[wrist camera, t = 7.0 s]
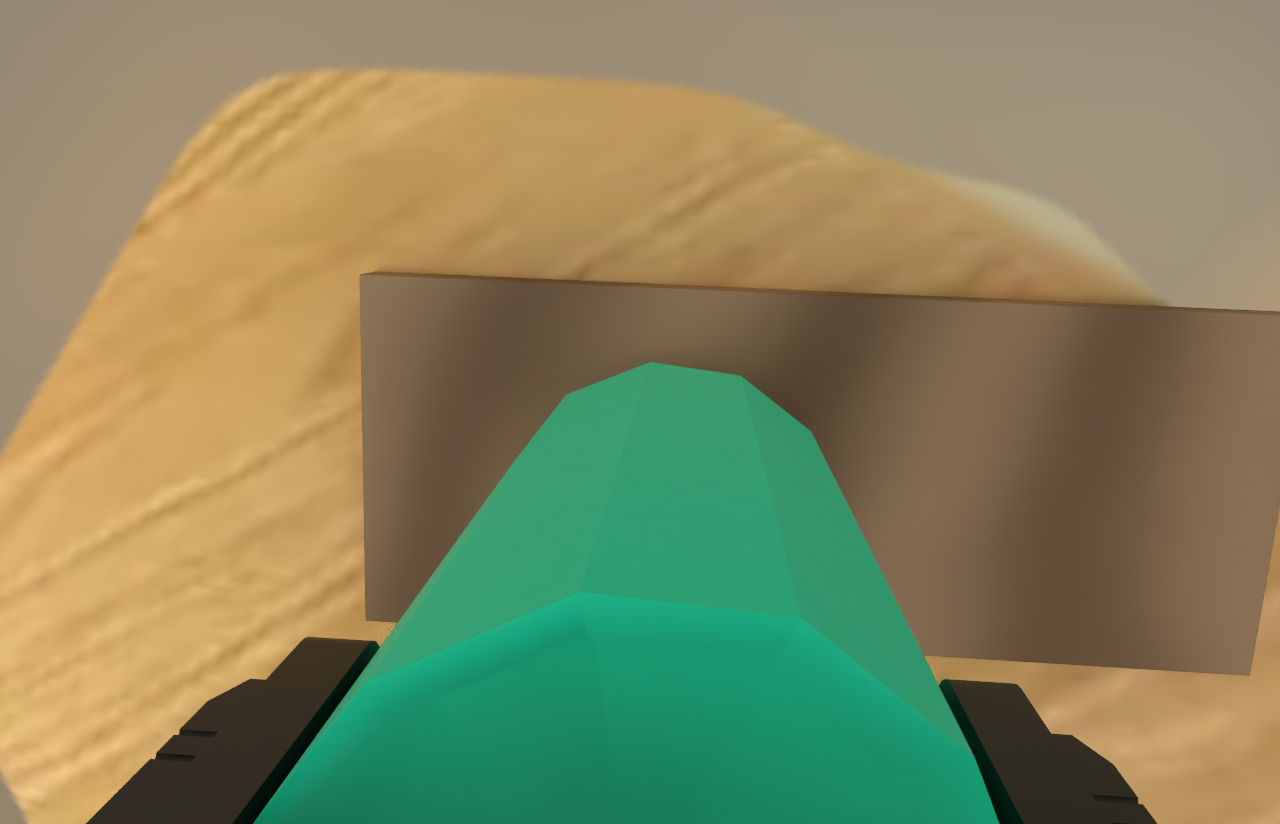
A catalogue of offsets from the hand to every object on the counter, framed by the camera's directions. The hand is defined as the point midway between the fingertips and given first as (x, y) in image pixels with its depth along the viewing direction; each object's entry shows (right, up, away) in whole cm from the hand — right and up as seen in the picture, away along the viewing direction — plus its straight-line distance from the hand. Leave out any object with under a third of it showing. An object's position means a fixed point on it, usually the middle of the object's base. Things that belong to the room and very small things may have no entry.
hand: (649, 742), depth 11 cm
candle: (0, +2, +7) cm, 7 cm away
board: (+4, +2, +12) cm, 13 cm away
